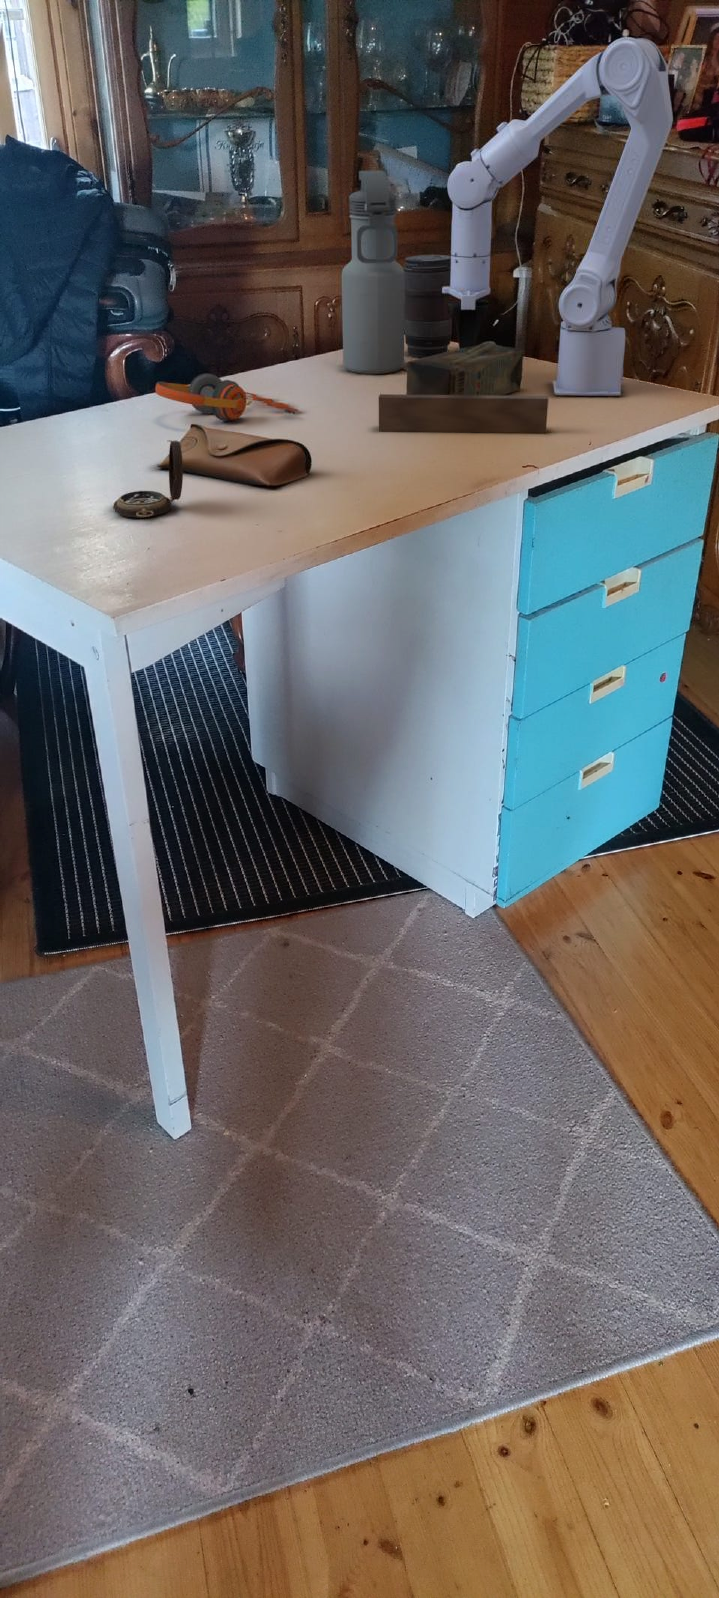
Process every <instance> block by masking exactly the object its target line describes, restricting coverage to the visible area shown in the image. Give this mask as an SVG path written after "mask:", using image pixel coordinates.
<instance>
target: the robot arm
mask: <svg viewBox="0 0 719 1598" xmlns="http://www.w3.org/2000/svg"><path fill="white" fill-rule="evenodd" d="M609 96H612V97H613V98H614V99H615V100H616V102H618V104H619V105H621V108H622V111H623V113H624V115H625V118H626V120H627V122H628V124H629V125H630V126H629V127H630V132H629V134H628V137H627V140H626V143H625V145H624V148H623V151H622V154H621V156H620V160H619V162H618V165H617V168H616V170H615V173H614V176H613V178H612V181H611V184H610V187H609V190H608V192H607V195H606V198H605V200H604V204H603V207H602V209H601V212H600V213H599V217H598V220H597V223H596V226H595V228H594V231H593V234H592V237H591V239H590V242H589V245H588V247H587V251H586V252H585V254H584V257H583V258H582V260H581V261H580V263H579V265H578V267H577V269H576V272H575V274H574V277H573V279H572V281H571V282H569V284H568V285H567V286H565V288H564V289H563V291H562V292H561V294H560V296H559V300H558V311H559V312H558V313H559V315H560V318H561V319H562V320H563V321H561V322H560V330H559V331H560V332H559V346H558V361H557V373H556V374H557V375H556V379H555V380H552V389H553V395H555V396H589V397H591V396H597V397H599V396H602V397H604V396H605V397H606V396H607V397H620V396H621V395H622V392H621V390H622V382H623V379H624V359H625V350H626V349H625V348H626V330H625V328H624V327H617V326H612V323H613V322H612V321H611V318H610V316H609V313H610V312H612V310H613V308H614V307H615V305H616V301H617V296H618V295H617V281H618V278H619V276H620V273H621V266H622V265H621V263H622V259H623V256H624V253H625V251H626V248H627V245H628V243H629V240H630V237H631V236H632V233H633V230H634V227H635V224H636V221H637V219H638V217H639V214H640V211H641V209H642V207H643V203H644V200H645V198H646V195H647V193H648V191H649V188H650V184H651V182H652V179H653V177H654V174H655V171H656V169H657V166H658V163H659V161H660V159H661V155H662V153H663V150H664V148H665V145H666V143H667V140H668V137H669V135H670V132H671V129H672V126H673V122H674V116H673V115H674V114H673V108H672V100H671V93H670V85H669V66H668V64H667V62H666V60H665V58H664V56H663V55H662V52H661V51H660V49H659V47H658V46H657V44H655V43H654V41H652V40H650V39H648V38H644V37H643V38H641V37H640V38H639V37H638V38H635V37H630V36H625V37H620V38H618V39H615V40H614V41H613V42H611V43H610V44H609V45H608V46H607V47H606V48H605V50H604V51H603V52H602V51H601V52H598V53H597V54H596V55H593V56H592V57H591V58H590V59H589V60H588V61H587V62H586V63H584V64H583V65H582V66H581V67H579V69H577V70H576V71H575V72H574V74H572V75H571V76H570V77H569V78H568V79H567V80H566V81H565V82H564V83H563V84H562V85H561V86H560V87H559V88H558V89H557V90H556V91H554V93H553V94H552V95H551V96H550V97H549V98H548V99H547V100H546V101H544V103H543V104H542V105H541V106H540V107H538V108H537V109H536V111H534V112H533V113H532V114H530V115H531V116H529V117H528V118H527V119H525V120H522V119H512V120H511V121H510V122H507V121H503V122H501V123H500V124H499V125H498V126H497V127H496V131H497V133H496V135H494V136H493V137H492V138H490V140H488V142H486V143H485V144H484V145H483V146H482V147H481V148H480V149H479V148H475V149H474V150H472V152H470V157H471V161H468V160H465V161H462V162H459V163H457V164H456V165H455V167H454V169H453V170H452V171H451V173H450V174H449V176H448V178H447V184H446V187H447V194H448V197H449V199H450V200H451V202H452V211H451V212H452V213H451V215H452V216H451V236H450V237H451V238H450V239H451V240H450V241H451V242H450V256H451V279H450V286H446V287H443V288H442V293H449V294H451V295H452V297H455V298H457V299H459V300H461V301H452V302H451V303H450V310H451V312H452V313H451V315H452V316H453V320H454V323H455V327H456V334H457V342H458V349H462V348H466V347H472V346H475V345H478V339H479V334H480V328H481V325H482V322H483V319H484V317H485V314H486V313H487V311H488V309H489V300H487V299H481V298H484V297H485V296H488V295H490V294H491V287H490V275H491V274H490V272H491V246H492V245H491V243H492V223H493V221H492V209H493V208H492V207H493V201H494V199H495V198H496V197H497V195H498V192H499V189H500V188H503V187H504V186H505V185H507V183H509V182H510V181H511V180H512V179H513V178H515V177H516V176H517V175H518V174H519V173H520V172H521V171H523V170H524V169H525V168H526V167H527V166H528V165H530V164H531V162H533V161H534V160H535V159H537V158H538V156H539V151H540V145H541V141H542V140H543V139H544V138H546V137H547V136H548V135H550V133H552V132H553V131H554V130H555V129H556V128H558V127H559V126H560V125H561V124H562V123H563V122H565V121H567V119H569V118H570V117H571V116H572V115H573V114H575V112H577V111H578V110H580V109H581V108H582V107H583V106H584V105H585V104H587V103H588V102H589V101H592V100H595V99H601V98H605V97H609Z"/></svg>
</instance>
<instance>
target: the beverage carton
mask: <svg viewBox="0 0 719 1598" xmlns="http://www.w3.org/2000/svg"><path fill="white" fill-rule="evenodd" d="M523 361H524V350H523V349H521V348H516V347H510V346H503V345H498V344H496V343H495V342H494V341H484V342H482V343H479V344H477V345H475V346H472V347H466V348H462V349H459V348H458V349H453V350H449V351H447V352H445V353H441V354H437V355H433V356H429V357H424V358H421V357H419V358H417V359H413V360H411V361H410V360H409V361H407V364H406V367H407V368H406V392H405V395H501V396H506V395H508V394H512V393H515V392H518V391H520V389H521V385H522V379H523V365H524V362H523Z"/></svg>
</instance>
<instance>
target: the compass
mask: <svg viewBox="0 0 719 1598" xmlns="http://www.w3.org/2000/svg"><path fill="white" fill-rule="evenodd" d="M166 442H170V443H169V451H168V454H169V468H168V483H169V485H168V486H169V496H170V497H168V496H166V495H164V494H163V493H161V492H159V491H155V490H137V491H131V492H130V491H129V492H126V493H124V494H122V495H120V496H119V497H118V499H117V500H116V501H114V503H113V505H112V509H113V510H114V512H115V513H116V514H118V515H119V516H123V517H126V518H150V517H156V516H159V515H162V514H165V513H167V512H168V511H169V510H170V509H171V507H172V503H173V502H174V501H175V500H180V498H181V496H182V489H183V479H184V471H183V461H182V452H181V446H180V443H179V442H180V441H179V440H176V439H175V440H167V441H166Z"/></svg>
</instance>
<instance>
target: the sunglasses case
mask: <svg viewBox="0 0 719 1598" xmlns="http://www.w3.org/2000/svg"><path fill="white" fill-rule="evenodd" d="M189 427H190V429H189V430H188V431H186V433H185V434H184V436H183V437H181V439H180V440H179V441H178V442H179V443H180V446H181V452H182V461H183V472H186V473H190V474H196V475H199V476H200V475H201V476H204V477H205V476H206V477H210V478H215V479H220V480H224V481H227V482H231V483H239V484H245V485H255V486H256V485H258V486H267V487H278V486H283V485H288V484H291V483H294V482H296V481H298V480H301V479H304V478H305V477H308V475H309V474H310V472H311V469H312V462H313V461H312V460H313V459H312V455H311V452H310V450H309V449H308V447H307V446H306V445H304V444H303V443H301V442H299V441H295V440H293V439H288V438H269V437H266V436H259V435H254V434H249V433H245V432H244V433H243V432H239V431H230V430H223V429H218V428H217V429H216V428H210V427H207V426H203V425H201V424H198V423H191V424H190V426H189ZM156 467H157V468H160V469H161V468H163V469H169V453H168V454H167V456H165V458H164V459H163V461H162V462H160V463H157V464H156Z"/></svg>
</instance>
